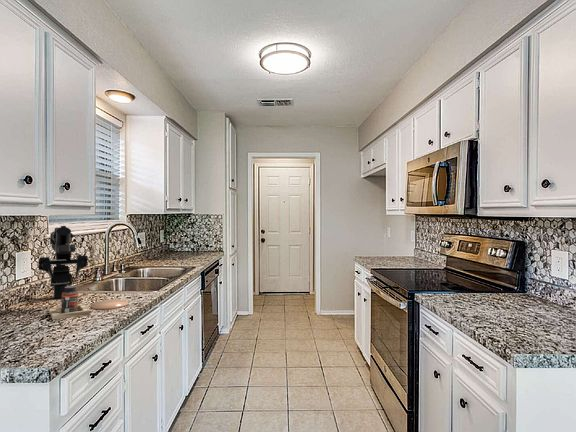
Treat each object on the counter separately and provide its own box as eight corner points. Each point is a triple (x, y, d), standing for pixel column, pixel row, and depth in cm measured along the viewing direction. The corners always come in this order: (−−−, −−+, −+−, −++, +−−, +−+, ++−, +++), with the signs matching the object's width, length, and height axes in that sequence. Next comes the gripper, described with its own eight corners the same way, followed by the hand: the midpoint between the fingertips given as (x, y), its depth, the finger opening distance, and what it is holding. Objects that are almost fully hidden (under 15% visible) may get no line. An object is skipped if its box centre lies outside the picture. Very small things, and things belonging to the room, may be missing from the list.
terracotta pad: (97, 301, 169) (97, 299, 169) (131, 300, 172) (131, 298, 172) (86, 310, 154) (86, 308, 154) (123, 309, 157) (123, 306, 157)
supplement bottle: (69, 315, 146) (70, 288, 146) (57, 314, 147) (58, 287, 147) (80, 311, 152) (81, 285, 152) (69, 310, 153) (69, 284, 153)
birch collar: (49, 312, 151) (49, 308, 151) (84, 307, 159) (84, 304, 159) (52, 319, 140) (52, 316, 140) (89, 314, 149) (89, 310, 149)
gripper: (39, 239, 155) (39, 265, 145) (87, 238, 166) (90, 262, 157) (38, 256, 161) (38, 283, 151) (85, 254, 172) (88, 279, 162)
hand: (64, 276), depth 155 cm, fingers open, 9 cm apart
